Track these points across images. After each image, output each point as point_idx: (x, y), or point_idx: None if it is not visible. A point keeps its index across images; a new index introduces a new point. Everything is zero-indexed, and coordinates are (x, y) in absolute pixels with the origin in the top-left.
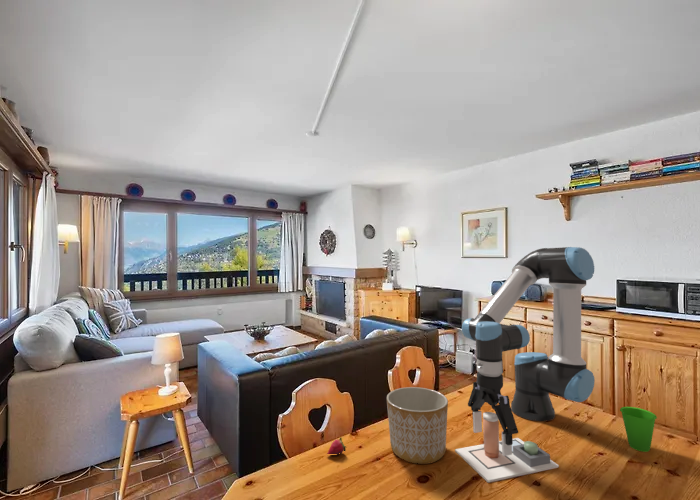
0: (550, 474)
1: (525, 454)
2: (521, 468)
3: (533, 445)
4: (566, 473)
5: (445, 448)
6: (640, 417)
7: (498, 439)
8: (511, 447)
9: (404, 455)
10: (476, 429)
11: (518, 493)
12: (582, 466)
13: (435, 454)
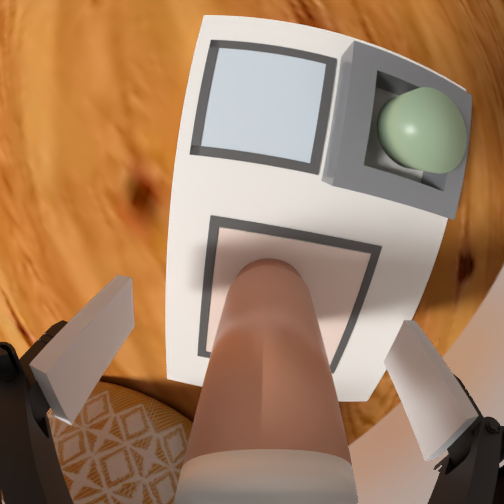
0: (472, 169)
1: (424, 203)
2: (414, 256)
3: (449, 129)
4: (487, 111)
5: (179, 425)
6: None
7: (321, 337)
8: (431, 345)
9: None
10: (125, 328)
11: (442, 353)
12: (471, 25)
13: None
